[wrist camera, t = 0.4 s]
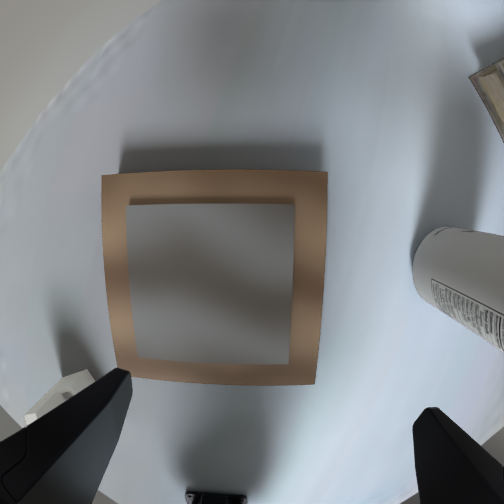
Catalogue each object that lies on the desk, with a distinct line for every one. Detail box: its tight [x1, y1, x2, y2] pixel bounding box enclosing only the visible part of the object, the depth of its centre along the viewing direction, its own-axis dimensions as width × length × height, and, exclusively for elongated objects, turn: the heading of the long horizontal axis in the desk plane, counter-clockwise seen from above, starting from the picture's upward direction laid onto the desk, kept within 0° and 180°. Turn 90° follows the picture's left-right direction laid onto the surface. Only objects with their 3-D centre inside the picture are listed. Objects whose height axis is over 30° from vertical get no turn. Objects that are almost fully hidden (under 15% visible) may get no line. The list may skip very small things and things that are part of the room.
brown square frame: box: [102, 169, 328, 386], centre depth 20 cm, size 14×14×3 cm
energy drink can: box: [412, 226, 504, 353], centre depth 14 cm, size 6×6×15 cm
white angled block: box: [24, 369, 95, 425], centre depth 20 cm, size 4×10×9 cm, turn 25°
